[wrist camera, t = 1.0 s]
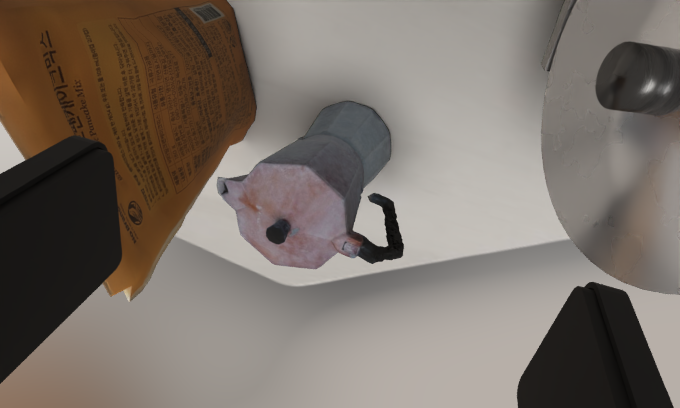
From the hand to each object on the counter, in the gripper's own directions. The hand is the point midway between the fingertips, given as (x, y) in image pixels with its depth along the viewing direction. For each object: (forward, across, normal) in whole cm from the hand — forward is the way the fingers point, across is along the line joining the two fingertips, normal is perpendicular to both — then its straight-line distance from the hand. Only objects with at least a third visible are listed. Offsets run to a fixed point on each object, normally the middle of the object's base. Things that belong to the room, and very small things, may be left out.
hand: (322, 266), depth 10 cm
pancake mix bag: (+39, +19, +11) cm, 45 cm away
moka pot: (+39, +5, +15) cm, 42 cm away
